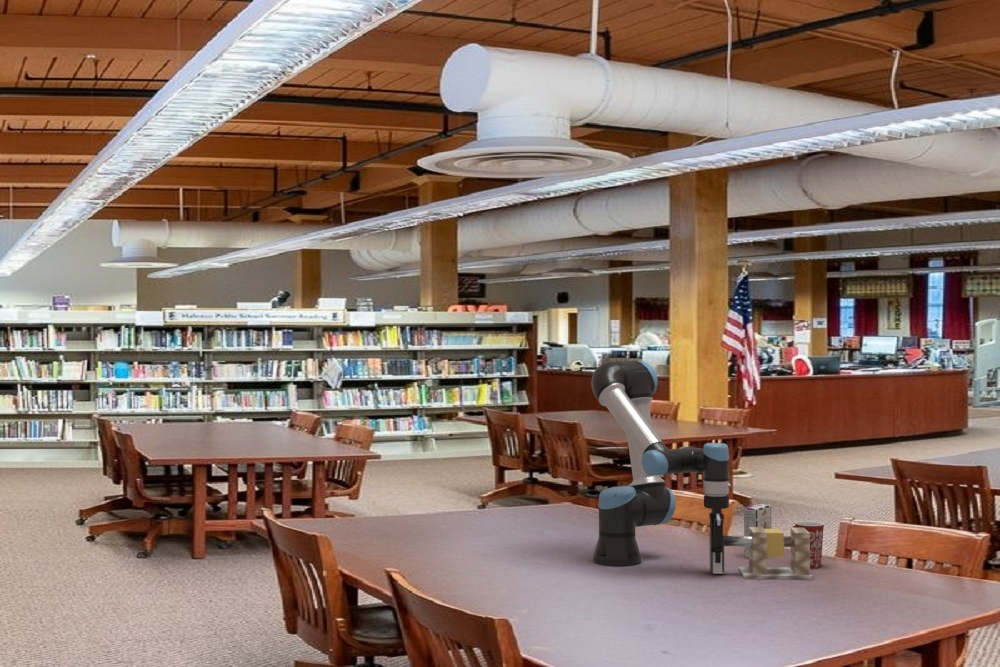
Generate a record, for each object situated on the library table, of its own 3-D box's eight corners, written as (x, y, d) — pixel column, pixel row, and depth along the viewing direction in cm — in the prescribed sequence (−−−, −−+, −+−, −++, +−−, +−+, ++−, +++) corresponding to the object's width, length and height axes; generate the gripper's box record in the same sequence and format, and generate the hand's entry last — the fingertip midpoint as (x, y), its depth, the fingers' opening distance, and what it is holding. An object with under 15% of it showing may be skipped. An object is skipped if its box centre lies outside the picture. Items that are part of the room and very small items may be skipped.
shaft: (710, 571, 358) (710, 535, 358) (709, 569, 362) (709, 533, 362) (791, 573, 356) (791, 536, 356) (789, 570, 360) (789, 534, 360)
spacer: (766, 557, 355) (766, 532, 355) (762, 552, 362) (762, 528, 362) (783, 557, 354) (783, 533, 354) (779, 552, 362) (779, 528, 362)
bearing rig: (743, 578, 353) (743, 533, 353) (738, 570, 365) (738, 526, 366) (812, 579, 351) (812, 533, 351) (804, 570, 364) (804, 526, 364)
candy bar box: (758, 552, 394) (758, 503, 394) (772, 554, 391) (772, 504, 391) (743, 558, 385) (743, 507, 385) (757, 559, 382) (757, 508, 382)
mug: (830, 567, 369) (830, 524, 369) (806, 569, 366) (806, 526, 366) (805, 560, 381) (805, 518, 381) (781, 562, 377) (781, 520, 377)
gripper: (732, 498, 351) (732, 577, 351) (725, 491, 368) (725, 566, 368) (706, 498, 351) (707, 577, 351) (701, 490, 368) (701, 566, 368)
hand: (716, 571), depth 360 cm, fingers closed on shaft, 4 cm apart
